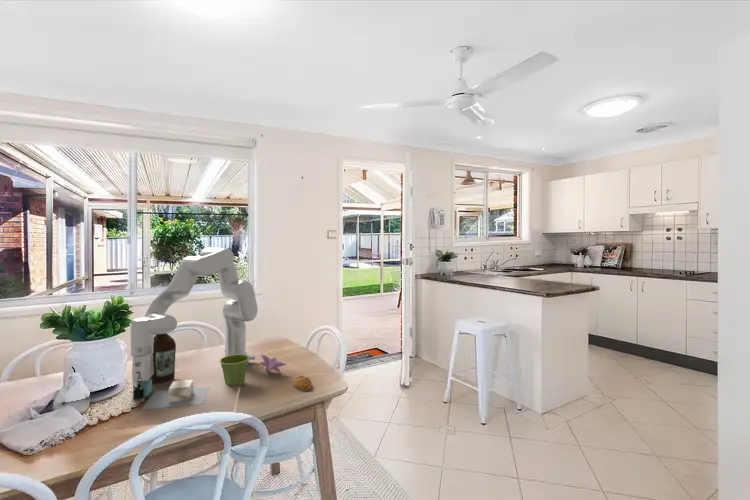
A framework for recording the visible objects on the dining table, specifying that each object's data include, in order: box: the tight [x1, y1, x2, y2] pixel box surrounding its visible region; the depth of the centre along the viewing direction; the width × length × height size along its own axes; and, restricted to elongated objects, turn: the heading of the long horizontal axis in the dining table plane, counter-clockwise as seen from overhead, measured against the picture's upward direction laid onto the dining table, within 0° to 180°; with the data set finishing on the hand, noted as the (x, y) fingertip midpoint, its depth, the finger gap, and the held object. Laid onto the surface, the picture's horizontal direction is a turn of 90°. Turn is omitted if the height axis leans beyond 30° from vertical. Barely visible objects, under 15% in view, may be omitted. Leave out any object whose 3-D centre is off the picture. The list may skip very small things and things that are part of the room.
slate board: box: [141, 386, 211, 411], centre depth 140 cm, size 20×16×2 cm
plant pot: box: [219, 354, 250, 387], centre depth 156 cm, size 12×12×11 cm
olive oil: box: [151, 333, 177, 385], centre depth 157 cm, size 11×11×25 cm
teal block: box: [138, 379, 153, 397], centre depth 143 cm, size 5×5×6 cm
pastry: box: [293, 375, 313, 392], centre depth 154 cm, size 9×7×4 cm
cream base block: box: [168, 379, 194, 402], centre depth 140 cm, size 7×7×5 cm
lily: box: [257, 354, 287, 379], centre depth 167 cm, size 12×12×10 cm
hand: (142, 394), depth 143 cm, fingers open, 8 cm apart
